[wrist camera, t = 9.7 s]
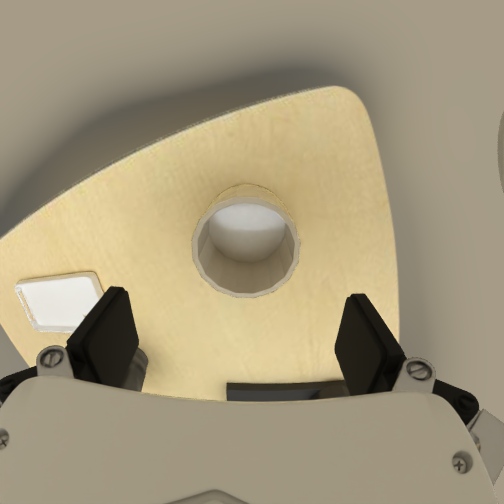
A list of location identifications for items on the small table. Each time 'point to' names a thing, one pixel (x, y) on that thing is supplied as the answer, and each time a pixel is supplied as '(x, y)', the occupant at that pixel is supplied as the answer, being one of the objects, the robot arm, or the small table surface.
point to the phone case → (59, 300)
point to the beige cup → (246, 242)
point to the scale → (286, 391)
